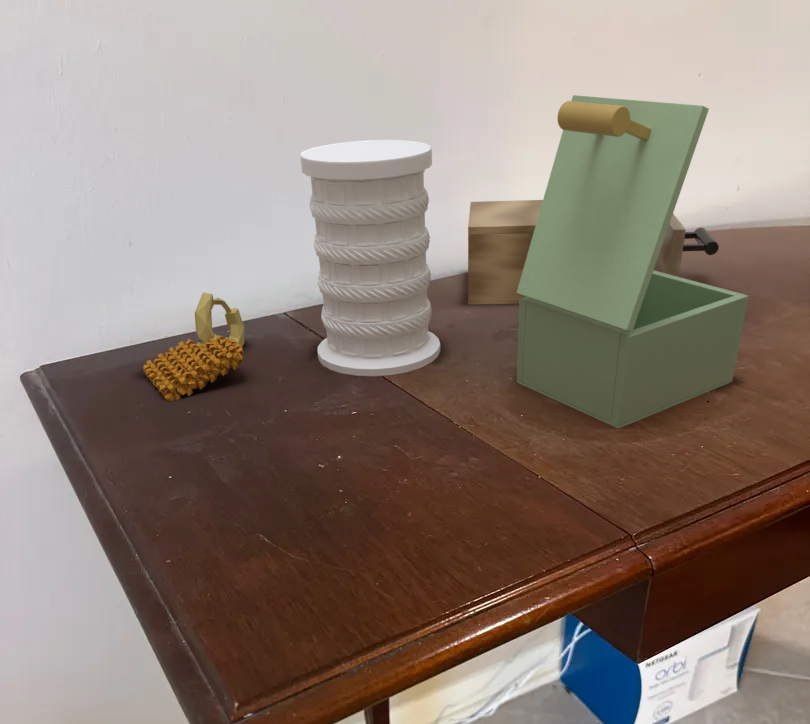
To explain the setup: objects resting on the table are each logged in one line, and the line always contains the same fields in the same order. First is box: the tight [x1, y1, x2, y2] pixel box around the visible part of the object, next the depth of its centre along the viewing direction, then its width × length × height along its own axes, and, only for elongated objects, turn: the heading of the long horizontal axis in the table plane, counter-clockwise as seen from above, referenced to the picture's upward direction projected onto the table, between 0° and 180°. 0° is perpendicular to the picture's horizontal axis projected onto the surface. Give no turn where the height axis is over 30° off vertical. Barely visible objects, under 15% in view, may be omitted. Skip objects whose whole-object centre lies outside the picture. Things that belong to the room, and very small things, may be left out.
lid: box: [517, 94, 710, 331], centre depth 57 cm, size 14×12×5 cm
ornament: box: [143, 292, 245, 402], centre depth 74 cm, size 7×10×15 cm
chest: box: [516, 270, 750, 429], centre depth 67 cm, size 14×12×8 cm
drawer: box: [654, 213, 720, 277], centre depth 88 cm, size 17×10×7 cm, turn 85°
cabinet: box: [467, 199, 543, 305], centre depth 89 cm, size 14×12×9 cm
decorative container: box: [300, 139, 441, 377], centre depth 72 cm, size 12×12×18 cm
